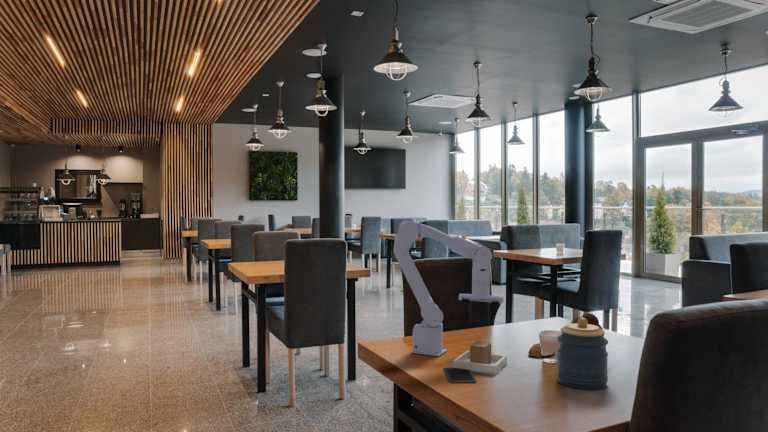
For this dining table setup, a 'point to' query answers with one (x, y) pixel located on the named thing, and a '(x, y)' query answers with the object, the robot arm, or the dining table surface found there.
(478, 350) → the beige block
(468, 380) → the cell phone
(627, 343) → the dining table surface
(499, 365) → the bin
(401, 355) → the dining table surface
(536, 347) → the pastry
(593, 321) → the ice cream bowl
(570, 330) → the canister
